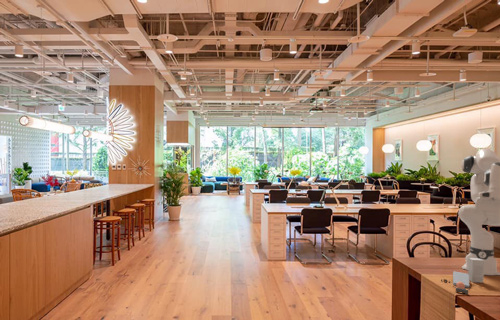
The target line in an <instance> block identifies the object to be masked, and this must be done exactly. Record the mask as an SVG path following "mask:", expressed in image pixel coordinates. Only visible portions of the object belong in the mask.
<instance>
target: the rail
mask: <svg viewBox="0 0 500 320" xmlns="http://www.w3.org/2000/svg"><path fill="white" fill-rule="evenodd" d="M466 289H467V288H464V289H461V288H456V287H455V292H456V291H457V292H462V293H465V294H464V295H467V294H468V295H469V290H466ZM457 292H456V293H457ZM462 293H461V294H462Z"/></svg>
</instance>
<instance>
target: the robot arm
mask: <svg viewBox="0 0 500 320" xmlns="http://www.w3.org/2000/svg"><path fill="white" fill-rule="evenodd" d="M460 165H461V169H462V172H464V173H467V174H473V175H472V176H471V178H470V185H469V186H470V199H471V200H472V201H473V203H475V204H465V205H461V207H460V208H459V209H458V212H457V213H458V217H459V219H460V220H461V221H462V222H463V223H464V224H465V225H466V226H467V228H468V229H469V231H470V245H469V253H468V254H466V256H465V258H464V260H465V263H464V264H463V265H462V266H461V269H463V270H466V271H468V263H469V258H480V259H482V260H484V276H500V271H498V269H497V264H498V263H497V262H498V261H497V259H496V258H495V257H494V256H495V250H494V243H495V242H494V241H495V237H494V235H493V234H492V233H491V232H489V231H487V230H486V229H484V228H483V225H484V226H485V225H487V226H495V227H500V157H499V156H498V154H497V153H496V152H495V151H493V150H492V149H490V148H481V149H479V150H478V151H477V152H476V154H475V155H469V156H465V157H464V158H463V159H462V160H461V163H460Z"/></svg>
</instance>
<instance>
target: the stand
mask: <svg viewBox="0 0 500 320" xmlns="http://www.w3.org/2000/svg"><path fill="white" fill-rule="evenodd" d="M444 280H445V281H444ZM440 281H441V282H443V283H445V282H446V283H445V284H447V283H450V282H451V281H450V280H448V279H445V278H443V279H442V278H441V279H440Z"/></svg>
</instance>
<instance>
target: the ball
mask: <svg viewBox="0 0 500 320" xmlns="http://www.w3.org/2000/svg"><path fill="white" fill-rule="evenodd" d="M455 287H457V288H461V289H466V287H465V285H464V283H462V282H458V283H457V284H456V285H455Z"/></svg>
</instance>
